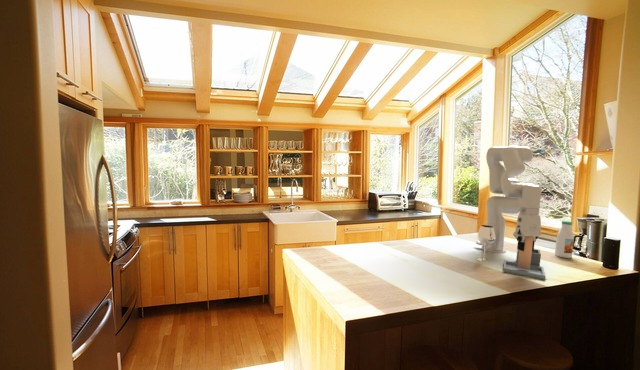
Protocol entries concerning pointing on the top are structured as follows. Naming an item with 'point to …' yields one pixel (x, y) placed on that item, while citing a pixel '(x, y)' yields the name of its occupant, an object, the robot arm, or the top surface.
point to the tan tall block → (525, 254)
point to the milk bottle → (565, 240)
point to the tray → (524, 270)
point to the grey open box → (533, 257)
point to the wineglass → (486, 237)
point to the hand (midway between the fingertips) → (525, 249)
